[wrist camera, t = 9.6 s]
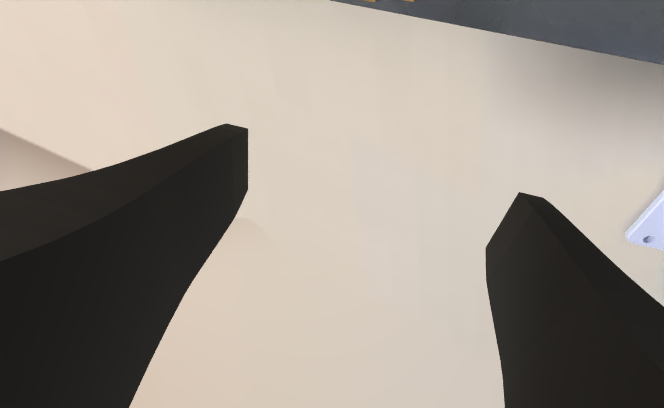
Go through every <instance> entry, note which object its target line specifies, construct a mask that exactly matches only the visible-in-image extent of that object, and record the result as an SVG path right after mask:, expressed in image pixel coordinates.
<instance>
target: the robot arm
mask: <svg viewBox="0 0 664 408" xmlns="http://www.w3.org/2000/svg"><path fill="white" fill-rule="evenodd" d="M247 190H248V129H247V128H243V127H239V126H234V125H230V124H223V125H220V126H217V127H214V128H211V129H209V130H206V131H204V132H201V133H199V134H196V135H194V136H191V137H189V138H186V139H184V140H181V141H179V142H176V143H174V144H171V145H169V146H166V147H164V148H161V149H159V150H156V151H153V152H150V153H147V154H144V155H142V156H139V157H136V158H133V159H130V160H127V161H125V162H122V163H119V164H116V165H112V166H109V167H106V168H102V169H99V170H95V171H92V172H88V173H84V174H80V175H77V176H73V177H68V178H64V179H60V180H55V181H50V182H46V183H41V184H35V185H30V186H26V187H21V188H16V189H11V190H5V191H0V408H129V406H130V404H131V402H132V400H133V397H134V395H135V393H136V391H137V389H138V386H139V385H140V382H141V380H142V378H143V376H144V374H145V372H146V370H147V367H148V365H149V363H150V361H151V359H152V357H153V355H154V353H155V351H156V349H157V347H158V345H159V343H160V341H161V339H162V337H163V335H164V333H165V331H166V329H167V327H168V325H169V323H170V321H171V319H172V317H173V315H174V313H175V311H176V309H177V307H178V306H179V303H180V302H181V300H182V298H183V296H184V294H185V293H186V291H187V289H188V288H189V286H190V284H191V283H192V281H193V279H194V278H195V277H196V275H197V274H198V272H199V270H200V269H201V267H202V266H203V264H204V263H205V262H206V260H207V259H208V257H209V256H210V254H211V253H212V251H213V250H214V248H215V247H216V245H217V244H218V242H219V241H220V239H221V238H222V236H223V235H224V233H225V232H226V230H227V229H228V227H229V225H230V224H231V223H232V221H233V219H234V218H235V216H236V214H237V212H238V210H239V208H240V206H241V204H242V201H243V199H244V197H245V195H246V193H247ZM625 236H626V238H627V239H628V241H629V242H631V243H633V244H638V245H642V246H647V247H651V248H656V249H660V250H664V190H663V191H662V192H661V193H660V194H659V195H658V197H657V198H656V199H655V200H654V201H653V202H652V203H651V204H650V206H649V207H648V208H647V209H646V210H645V211H644V212H643V213H642V214H641V216H640V217H639V218H638V219H637V220H636V221H635V222H634V223H633V225H632V226H631V227H630V228H629V229H628V230H627V231H626V233H625ZM647 236H649V237H647ZM645 237H647V238H645ZM486 282H487V288H488V294H489V300H490V306H491V311H492V317H493V322H494V328H495V333H496V339H497V344H498V349H499V355H500V360H501V368H502V374H503V386H504V401H505V408H664V307H663V306H662V305H661V304H660V303H659V302H657V301H656V300H655V299H654V298H652V297H651V296H650V295H649V294H648V293H647V292H646V291H644V290H643V289H642V288H641V287H640V286H639V285H638V284H636V283H635V282H634V281H633V280H632V279H631V278H630V277H628V276H627V275H626V274H625V273H624V272H623V271H622V270H621V269H620V268H618V267H617V266H616V265H615V264H614V263H613V262H612V261H611V260H610V259H609V258H608V257H607V256H606V255H604V254H603V253H602V252H601V251H600V250H599V249H598V248H597V247H596V246H595V245H594V244H593V243H592V242H591V241H590V240H589V239H588V238H587V237H586V236H585V235H584V234H583V233H582V232H581V231H580V230H578V229H577V228H576V227H575V226H574V225H573V224H572V223H571V222H570V221H569V220H568V219H567V218H566V217H565V216H564V215H563V214H562V213H561V212H560V211H559V210H557V209H556V208H555V207H554V206H553V205H552V204H550V203H549V202H548V201H547V200H545V199H544V198H542V197H537V196H533V195H529V194H524V193H520V192H519V193H518V195H517V197H516V198H515V200H514V202H513V203H512V205H511V207H510V208H509V210H508V212H507V213H506V215H505V217H504V218H503V220H502V222H501V223H500V225H499V227H498V228H497V230H496V232H495V233H494V235H493V237H492V238H491V240H490V242H489V243H488V245H487V247H486Z"/></svg>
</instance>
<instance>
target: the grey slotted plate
mask: <svg viewBox="0 0 664 408" xmlns="http://www.w3.org/2000/svg"><path fill="white" fill-rule="evenodd" d="M331 1H336V2H341V3H347V4H352V5H357V6H362V7H367V8H373V9H378V10H383V11H388V12H393V13H398V14H404V15H409V16H414V17H419V18H424V19H429V20H435V21H440V22H445V23H450V24H455V25H460V26H466V27H471V28H476V29H481V30H486V31H491V32H497V33H502V34H507V35H512V36H517V37H523V38H528V39H533V40H538V41H543V42H548V43H554V44H559V45H564V46H569V47H574V48H579V49H585V50H590V51H595V52H600V53H605V54H610V55H616V56H621V57H626V58H631V59H636V60H642V61H647V62H652V63H657V64H662V65H664V0H331Z"/></svg>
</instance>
